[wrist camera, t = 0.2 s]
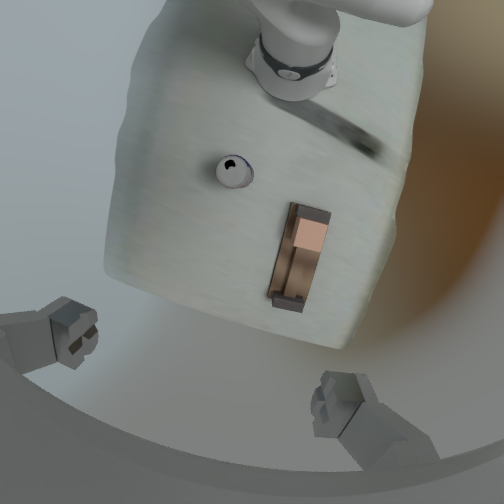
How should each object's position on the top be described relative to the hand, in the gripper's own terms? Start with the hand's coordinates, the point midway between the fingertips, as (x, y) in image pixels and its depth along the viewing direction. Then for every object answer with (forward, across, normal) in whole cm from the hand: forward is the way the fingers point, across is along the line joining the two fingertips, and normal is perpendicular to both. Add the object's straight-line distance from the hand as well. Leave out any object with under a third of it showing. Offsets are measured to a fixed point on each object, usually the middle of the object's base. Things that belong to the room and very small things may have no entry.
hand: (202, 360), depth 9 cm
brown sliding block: (+46, -10, +1) cm, 47 cm away
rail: (+47, -10, +6) cm, 49 cm away
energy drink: (+47, +5, -7) cm, 48 cm away
